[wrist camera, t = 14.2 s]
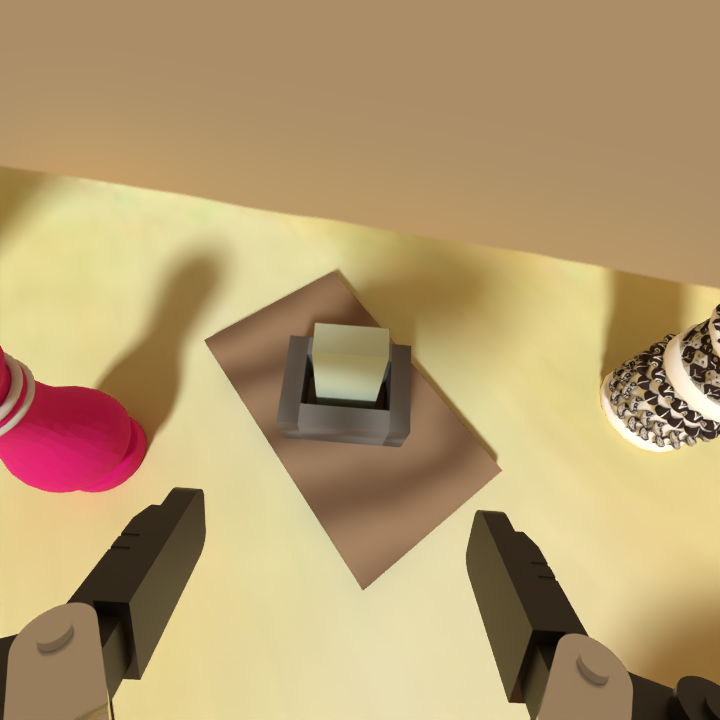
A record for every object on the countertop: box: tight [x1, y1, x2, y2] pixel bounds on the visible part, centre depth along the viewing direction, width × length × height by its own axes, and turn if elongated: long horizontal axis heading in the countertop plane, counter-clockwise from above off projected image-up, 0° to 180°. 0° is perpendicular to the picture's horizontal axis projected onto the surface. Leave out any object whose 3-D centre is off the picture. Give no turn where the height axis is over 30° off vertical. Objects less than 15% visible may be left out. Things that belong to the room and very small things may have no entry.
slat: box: [312, 323, 389, 409], centre depth 28 cm, size 4×2×11 cm, turn 87°
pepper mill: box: [0, 346, 146, 493], centre depth 22 cm, size 7×7×20 cm
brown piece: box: [204, 272, 502, 590], centre depth 31 cm, size 14×24×6 cm, turn 36°
